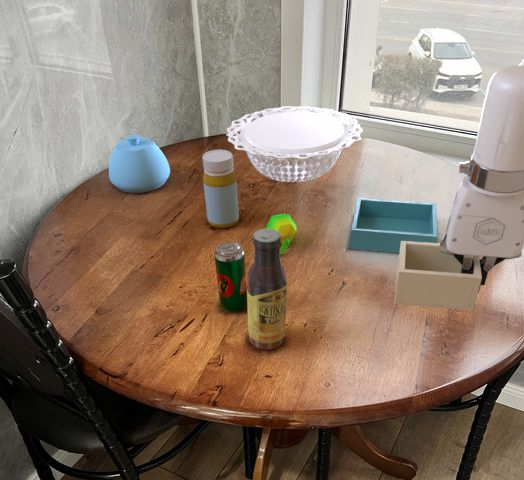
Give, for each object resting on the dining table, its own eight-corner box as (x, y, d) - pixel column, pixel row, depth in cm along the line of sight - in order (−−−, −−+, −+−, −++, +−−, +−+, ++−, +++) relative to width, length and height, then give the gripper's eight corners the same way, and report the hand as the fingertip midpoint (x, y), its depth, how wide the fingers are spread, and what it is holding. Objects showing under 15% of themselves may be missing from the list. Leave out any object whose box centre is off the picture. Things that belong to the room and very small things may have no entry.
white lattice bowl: (378, 200, 125) (385, 146, 116) (245, 221, 120) (242, 166, 111) (332, 147, 148) (334, 99, 139) (219, 163, 143) (214, 114, 134)
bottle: (242, 214, 122) (237, 149, 112) (235, 230, 117) (230, 163, 107) (212, 212, 124) (205, 148, 113) (204, 228, 119) (196, 162, 108)
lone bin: (469, 277, 87) (478, 245, 83) (473, 310, 81) (482, 278, 77) (396, 272, 89) (401, 240, 85) (394, 303, 83) (399, 271, 79)
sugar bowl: (99, 191, 134) (88, 144, 126) (131, 166, 144) (122, 121, 136) (152, 199, 129) (144, 151, 122) (181, 173, 140) (175, 127, 132)
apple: (273, 201, 111) (291, 221, 105) (295, 215, 115) (313, 234, 108) (253, 229, 113) (269, 250, 107) (275, 242, 117) (291, 263, 111)
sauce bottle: (261, 357, 88) (256, 252, 74) (241, 336, 92) (233, 233, 78) (294, 342, 90) (295, 238, 77) (274, 322, 94) (271, 220, 81)
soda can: (248, 312, 96) (244, 255, 88) (220, 315, 96) (213, 257, 88) (247, 295, 100) (243, 239, 92) (219, 297, 100) (213, 241, 92)
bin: (432, 221, 117) (436, 203, 114) (433, 256, 107) (437, 236, 104) (355, 216, 120) (357, 197, 117) (349, 248, 110) (351, 229, 107)
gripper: (439, 183, 69) (418, 297, 82) (568, 189, 66) (526, 306, 79) (438, 158, 74) (419, 269, 87) (558, 163, 72) (520, 276, 84)
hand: (470, 286), depth 83 cm, fingers closed on lone bin, 1 cm apart
